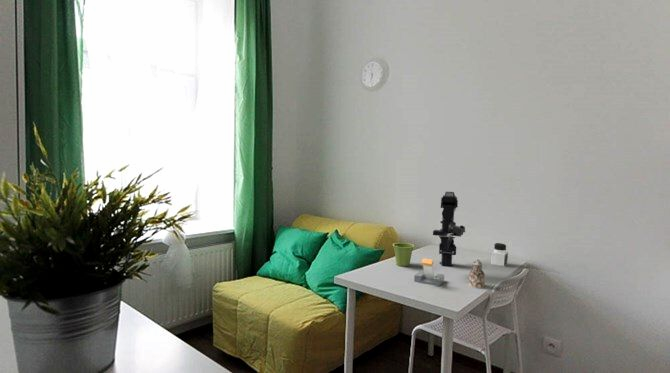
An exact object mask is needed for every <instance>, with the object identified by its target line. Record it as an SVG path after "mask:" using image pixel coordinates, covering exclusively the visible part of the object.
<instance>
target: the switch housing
mask: <svg viewBox="0 0 670 373" xmlns="http://www.w3.org/2000/svg"><path fill="white" fill-rule="evenodd" d="M413 279H414V280H413V281H414V282H416V283H422V284H427V285H432V286H437V287H440V286H441V285H442V284H443V282H445V274H443V273H436V274H435V275H434V278H433V279H432V278H427V277H425V274H424V270H419V271H418V272H417V273H415V274H414V278H413Z"/></svg>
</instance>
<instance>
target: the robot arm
mask: <svg viewBox="0 0 670 373" xmlns="http://www.w3.org/2000/svg"><path fill="white" fill-rule="evenodd" d="M440 200H441V201H440V208H441V209H442V211H441V216H442V218H441V221H439V222H440V224H441V228H439V229H434V230H433V231H432V235H433V236H436V237H437V236H438V237H439V239H440V243H439V247H438V249H439V250H438V254H439V255H441V258H440V259H441V261H439V264H440V265H441V266H443V267H454V266H455V265H454V263H453V256H455V255H457V246H456V244H455V241H454V239H455V238H456V237H462V236H463V235H464V233H466V227H465V226H464V225H459V226H458V225H457V224H456V221H454V220H455V212H456V210H457V208H459V207H458V203H459V202H458V197H457V196H456V195H455V192H454V191H445V192H444V195H442V197H441V198H440Z"/></svg>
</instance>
